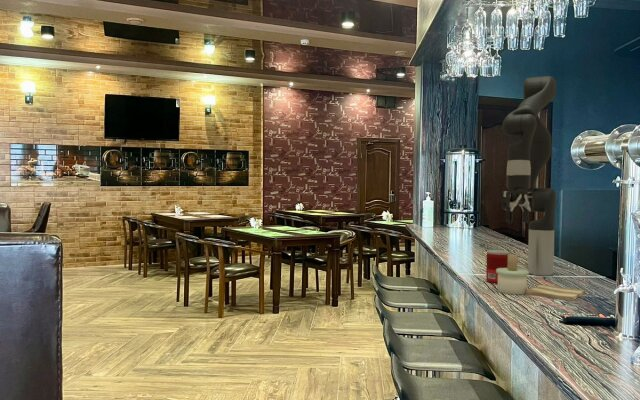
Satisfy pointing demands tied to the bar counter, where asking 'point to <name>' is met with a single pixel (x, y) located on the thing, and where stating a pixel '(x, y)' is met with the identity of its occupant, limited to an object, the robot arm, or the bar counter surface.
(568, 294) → the mat
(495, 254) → the canned food
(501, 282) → the crock
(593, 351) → the bar counter surface
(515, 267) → the lid
